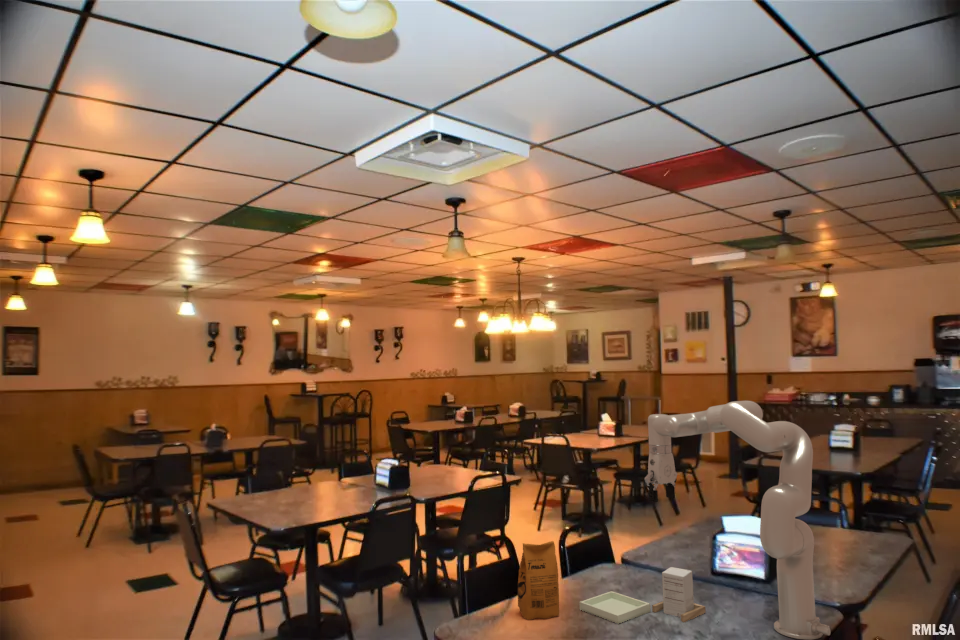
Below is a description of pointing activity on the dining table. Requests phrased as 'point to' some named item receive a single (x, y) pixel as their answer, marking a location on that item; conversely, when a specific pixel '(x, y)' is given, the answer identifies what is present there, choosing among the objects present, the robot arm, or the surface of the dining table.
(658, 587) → the dining table surface
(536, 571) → the coffee package
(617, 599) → the tray
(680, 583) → the supplement box
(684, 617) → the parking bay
